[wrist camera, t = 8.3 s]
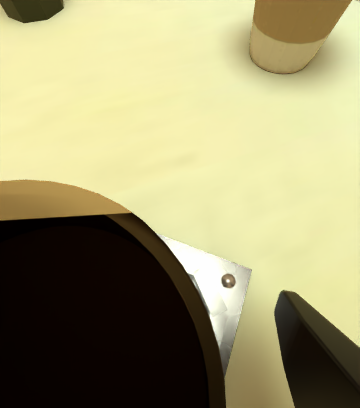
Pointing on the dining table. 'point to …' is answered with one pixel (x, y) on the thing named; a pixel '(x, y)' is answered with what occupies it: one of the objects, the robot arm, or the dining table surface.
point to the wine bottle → (31, 9)
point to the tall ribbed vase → (97, 308)
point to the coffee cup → (291, 31)
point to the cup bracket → (216, 290)
